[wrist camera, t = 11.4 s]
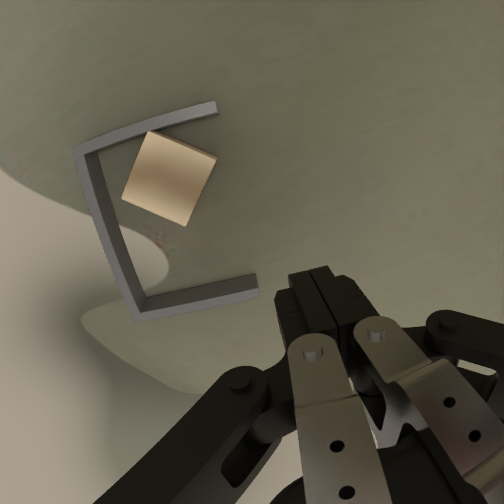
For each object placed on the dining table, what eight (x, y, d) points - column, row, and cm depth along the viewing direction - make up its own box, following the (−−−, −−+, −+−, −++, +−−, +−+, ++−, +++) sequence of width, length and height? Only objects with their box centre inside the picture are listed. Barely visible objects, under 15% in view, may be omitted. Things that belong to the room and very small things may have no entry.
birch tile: (158, 130, 25) (148, 131, 22) (217, 156, 27) (216, 160, 23) (133, 189, 27) (121, 198, 23) (190, 213, 29) (185, 226, 25)
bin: (85, 145, 25) (71, 147, 22) (216, 103, 25) (215, 100, 22) (141, 306, 32) (135, 322, 29) (257, 282, 32) (260, 296, 29)
